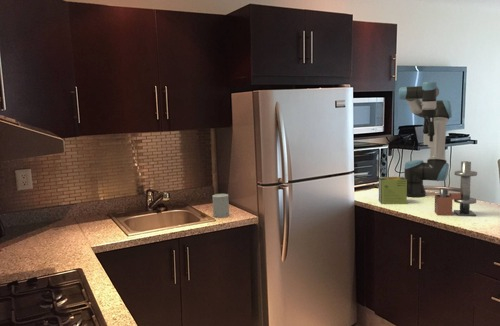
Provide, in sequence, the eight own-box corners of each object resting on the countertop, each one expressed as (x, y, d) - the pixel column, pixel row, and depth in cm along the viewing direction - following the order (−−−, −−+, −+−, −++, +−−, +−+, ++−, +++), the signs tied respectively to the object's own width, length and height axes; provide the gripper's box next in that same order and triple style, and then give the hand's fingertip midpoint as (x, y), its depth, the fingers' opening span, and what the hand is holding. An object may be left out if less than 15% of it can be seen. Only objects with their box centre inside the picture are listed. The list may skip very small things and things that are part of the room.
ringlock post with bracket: (433, 211, 243) (434, 160, 239) (472, 211, 239) (474, 160, 235) (438, 216, 232) (439, 163, 229) (478, 216, 228) (480, 163, 224)
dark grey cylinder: (438, 212, 239) (438, 188, 238) (446, 212, 239) (446, 188, 237) (440, 214, 236) (440, 189, 234) (447, 214, 235) (448, 189, 233)
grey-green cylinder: (216, 218, 246) (215, 197, 244) (211, 215, 254) (210, 194, 253) (231, 216, 249) (230, 195, 248) (226, 212, 258) (225, 193, 256)
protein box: (407, 204, 262) (407, 179, 260) (381, 204, 264) (381, 179, 262) (403, 200, 272) (403, 176, 270) (378, 200, 274) (378, 176, 272)
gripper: (418, 108, 256) (417, 144, 259) (426, 109, 232) (425, 148, 235) (431, 108, 254) (430, 143, 257) (441, 109, 230) (440, 148, 233)
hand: (428, 146), depth 246 cm, fingers open, 13 cm apart
